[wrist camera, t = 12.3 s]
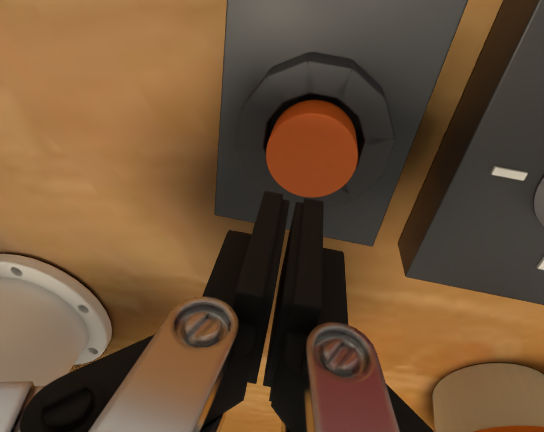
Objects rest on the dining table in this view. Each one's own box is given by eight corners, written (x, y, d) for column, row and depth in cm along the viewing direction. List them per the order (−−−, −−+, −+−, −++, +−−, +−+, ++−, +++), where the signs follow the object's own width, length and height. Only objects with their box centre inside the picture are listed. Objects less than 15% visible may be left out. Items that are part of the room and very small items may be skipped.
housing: (369, 224, 22) (375, 269, 19) (223, 195, 22) (204, 234, 19) (454, -7, 15) (486, 0, 12) (241, -44, 15) (216, -47, 12)
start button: (343, 185, 17) (344, 205, 15) (266, 169, 17) (260, 188, 15) (366, 108, 15) (369, 123, 13) (278, 91, 15) (272, 104, 13)
